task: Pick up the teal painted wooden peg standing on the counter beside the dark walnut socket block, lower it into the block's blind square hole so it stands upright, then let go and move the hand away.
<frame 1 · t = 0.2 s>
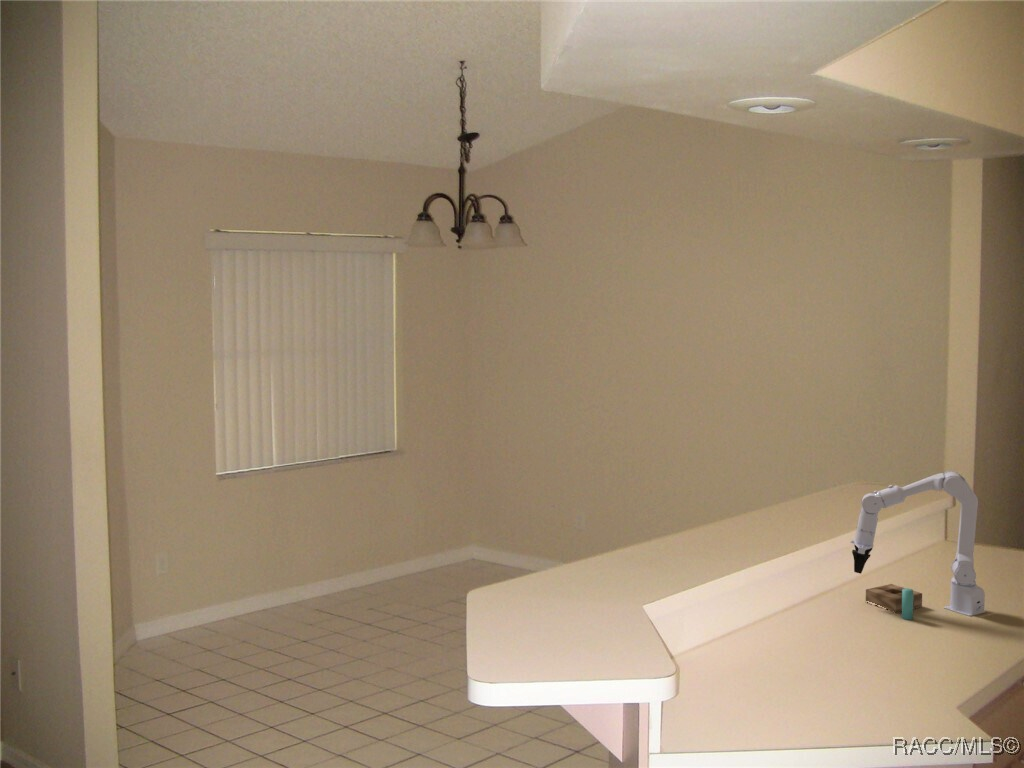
hand: (858, 569, 309), 10 cm above the table, tool pointing down, fingers open, 7 cm apart
socket block: (893, 604, 304), on the table
peg: (907, 618, 291), on the table
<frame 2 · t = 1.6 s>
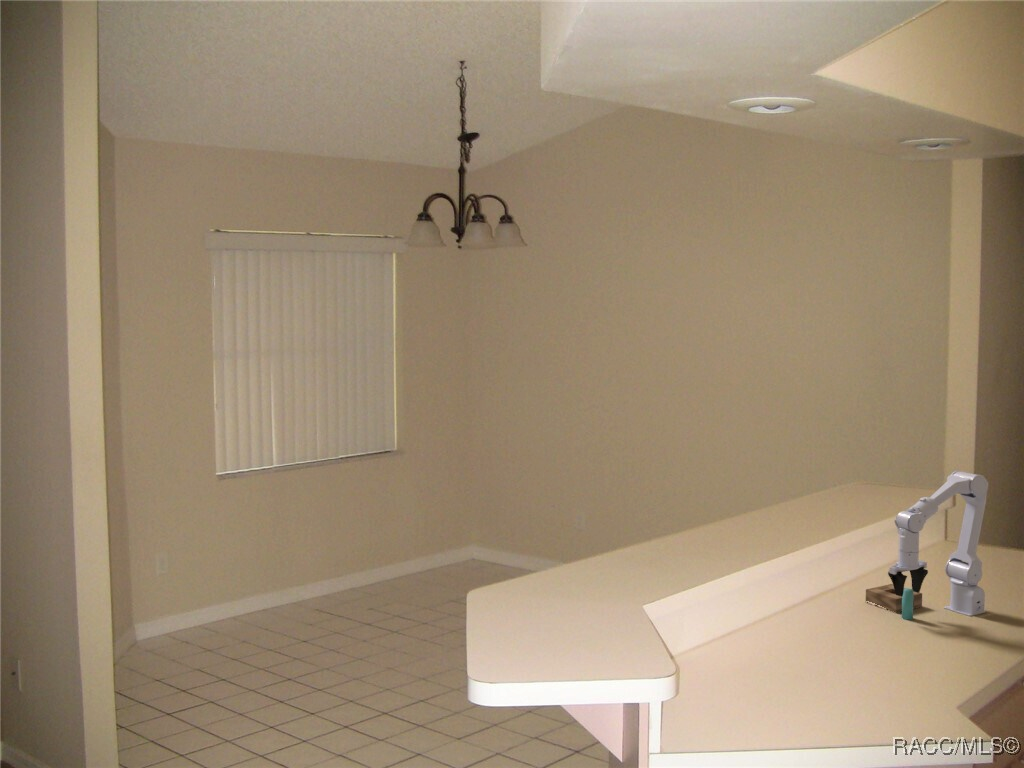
hand: (907, 593, 291), 8 cm above the table, tool pointing down, fingers open, 7 cm apart
nothing on the table moved.
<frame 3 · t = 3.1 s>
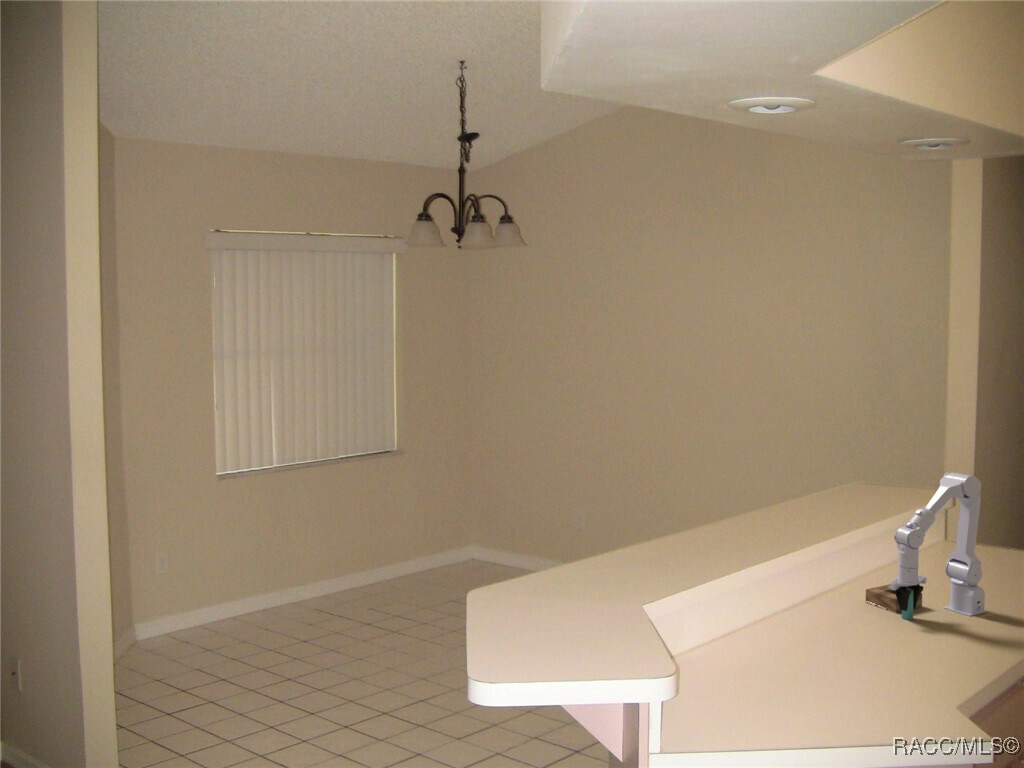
hand: (907, 609, 291), 3 cm above the table, tool pointing down, fingers closed on peg, 3 cm apart
peg: (907, 618, 291), on the table, touching gripper
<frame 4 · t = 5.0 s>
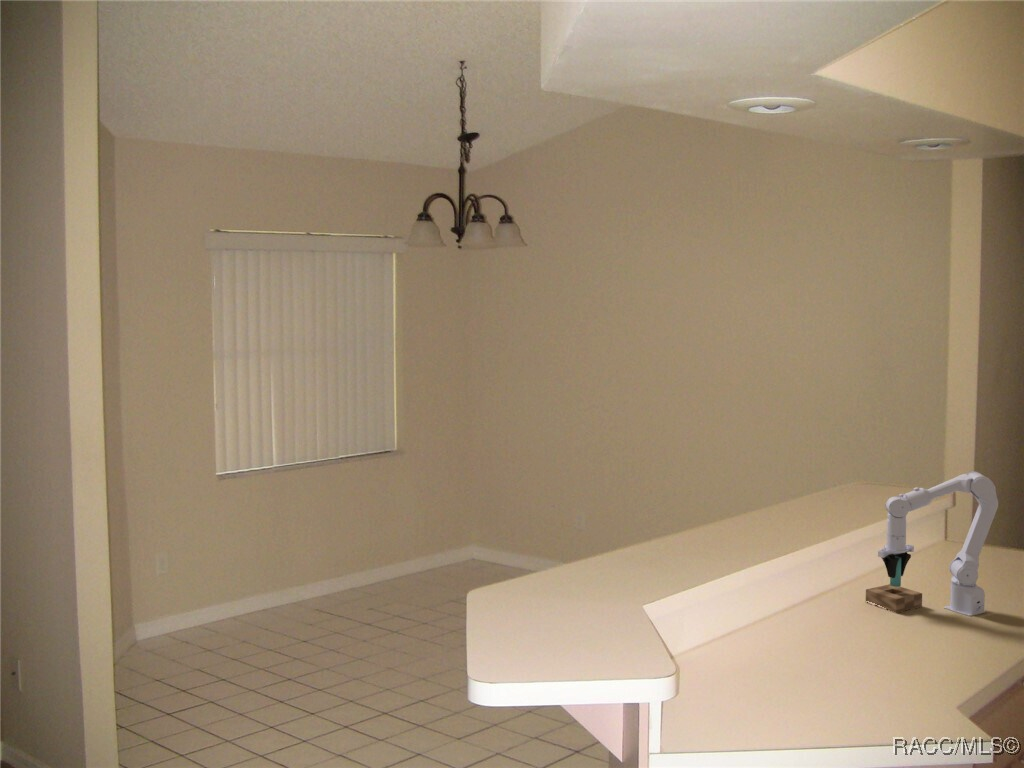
hand: (895, 576, 302), 10 cm above the table, tool pointing down, fingers closed on peg, 3 cm apart
peg: (895, 585, 302), point 7 cm above the table, touching gripper
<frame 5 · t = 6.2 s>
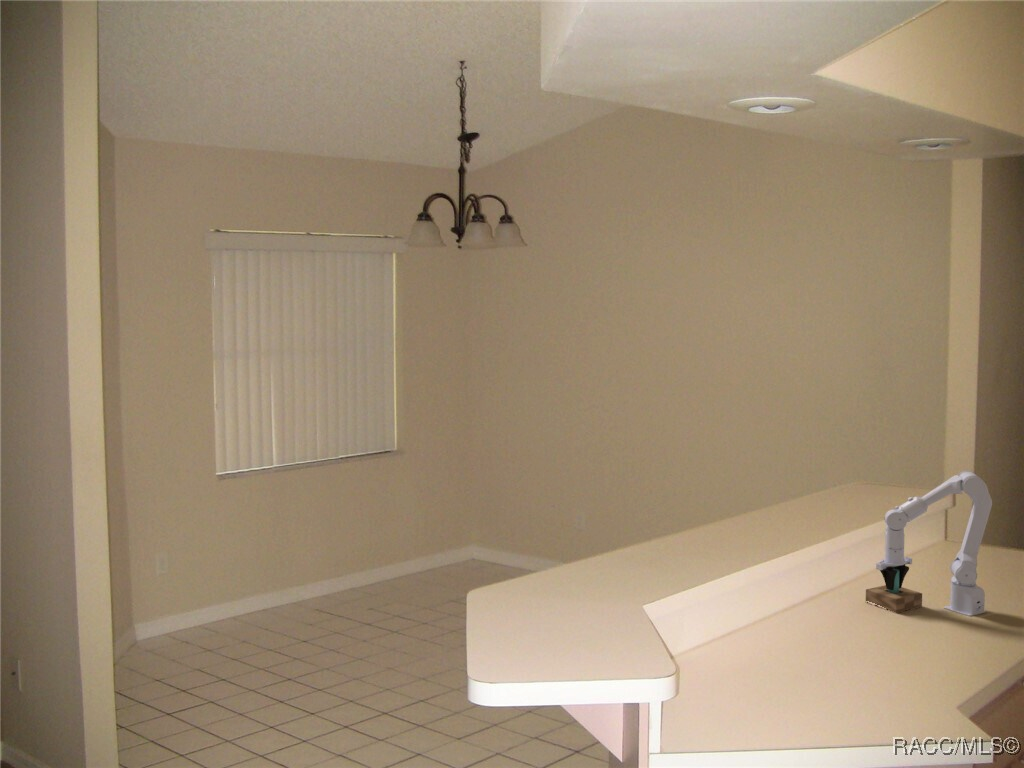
hand: (893, 588, 304), 5 cm above the table, tool pointing down, fingers closed on peg, 3 cm apart
peg: (893, 597, 304), point 3 cm above the table, touching gripper
when the fingers open (5 cm above the table, at t = 7.0 s): peg drops 1 cm, resting on socket block.
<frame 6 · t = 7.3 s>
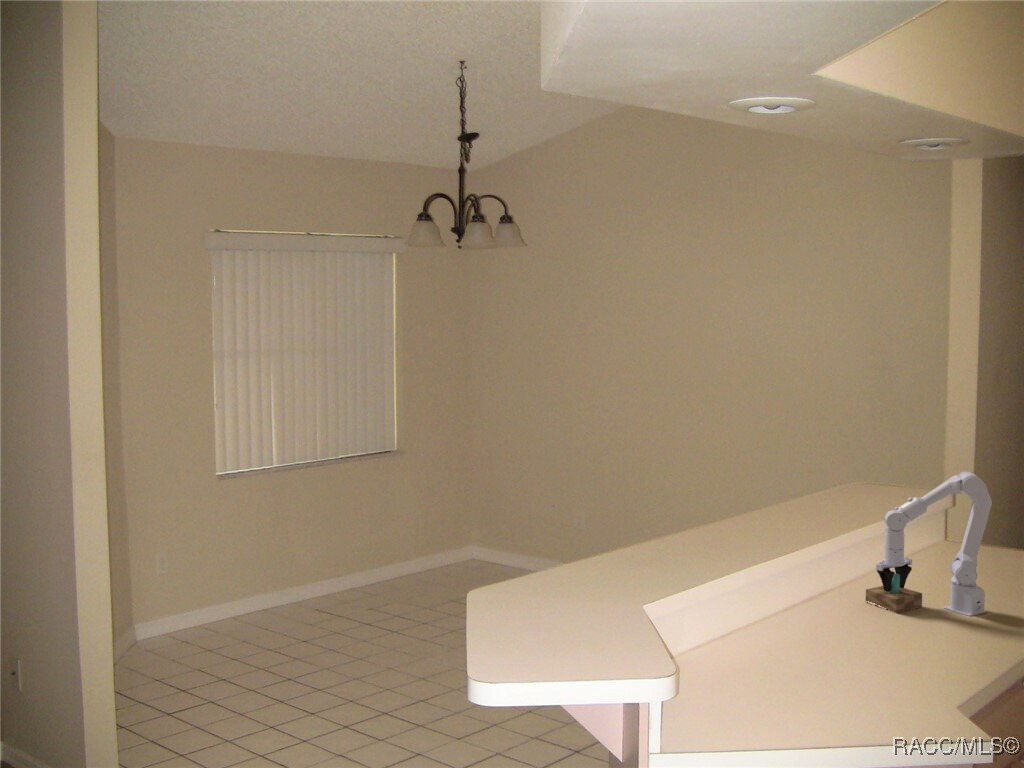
hand: (893, 589, 304), 5 cm above the table, tool pointing down, fingers open, 6 cm apart
peg: (893, 601, 304), point 1 cm above the table, touching socket block
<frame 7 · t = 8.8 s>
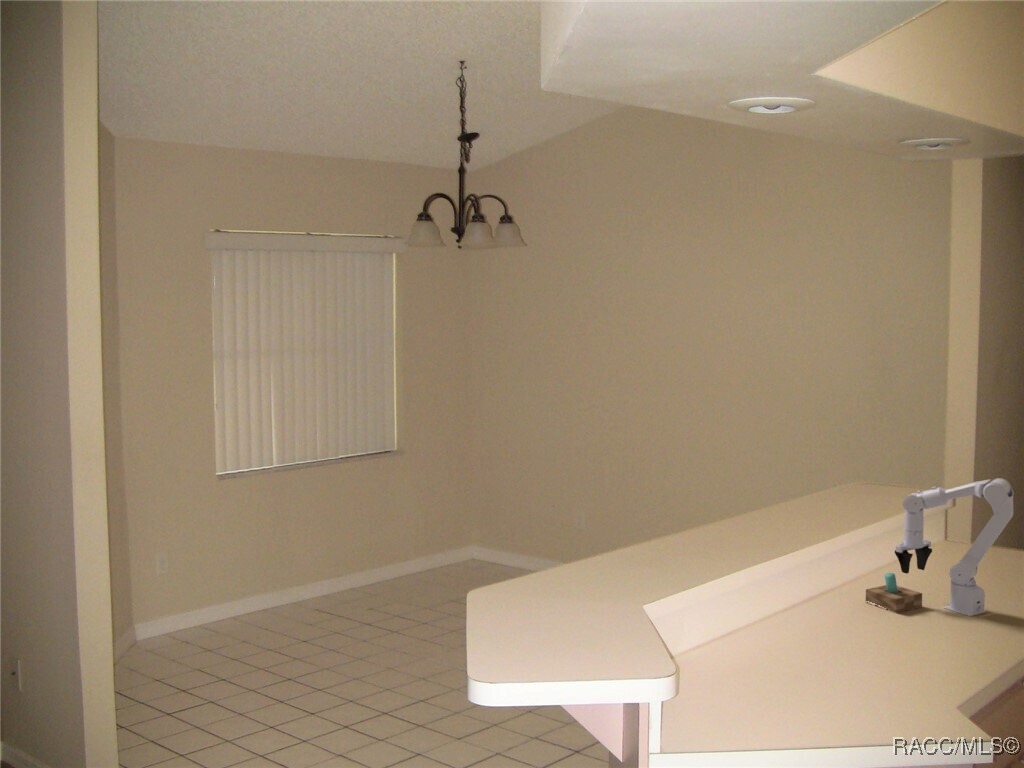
hand: (913, 571, 308), 10 cm above the table, tool pointing down, fingers open, 7 cm apart
peg: (894, 600, 304), point 1 cm above the table, tilted 14°, touching socket block
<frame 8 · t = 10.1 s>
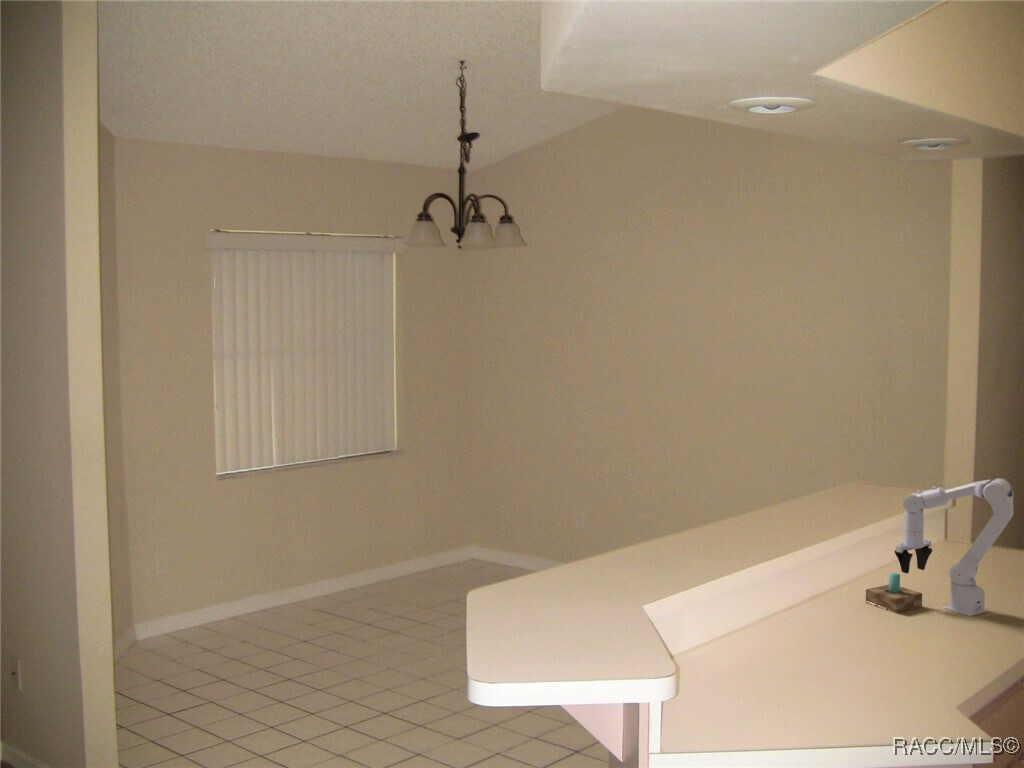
hand: (913, 571, 308), 10 cm above the table, tool pointing down, fingers open, 7 cm apart
peg: (894, 601, 304), point 1 cm above the table, touching socket block
at the end: peg 0.3 cm off-centre on the socket block, point 1.0 cm above the socket block's base; peg tilted 0°; the gripper is holding nothing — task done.
